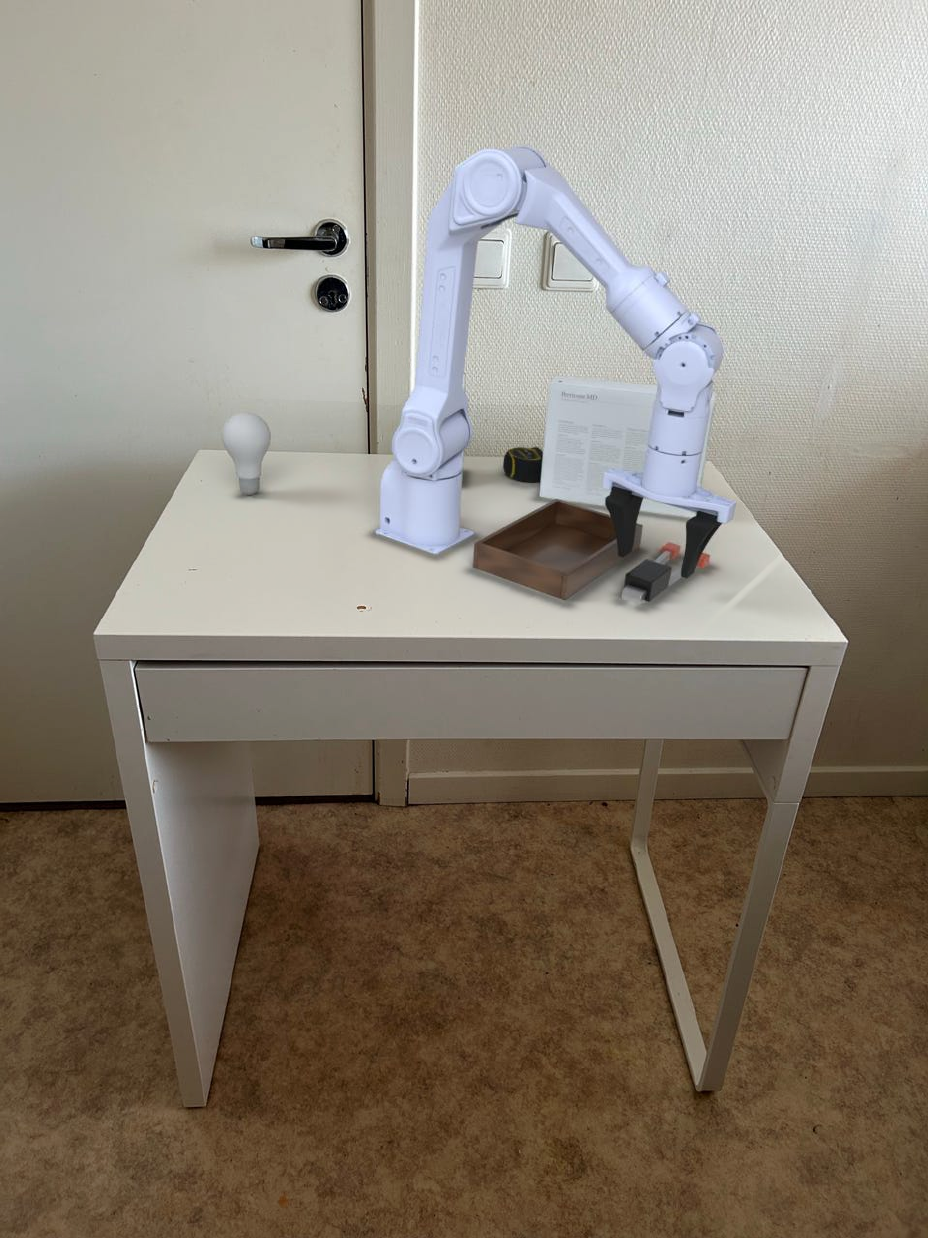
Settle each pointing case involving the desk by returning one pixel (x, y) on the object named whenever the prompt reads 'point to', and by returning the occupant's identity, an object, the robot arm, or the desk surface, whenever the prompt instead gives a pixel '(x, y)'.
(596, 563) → the tray
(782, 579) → the desk surface
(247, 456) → the lightbulb
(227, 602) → the desk surface
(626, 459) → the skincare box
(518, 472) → the tape measure
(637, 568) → the tongs
